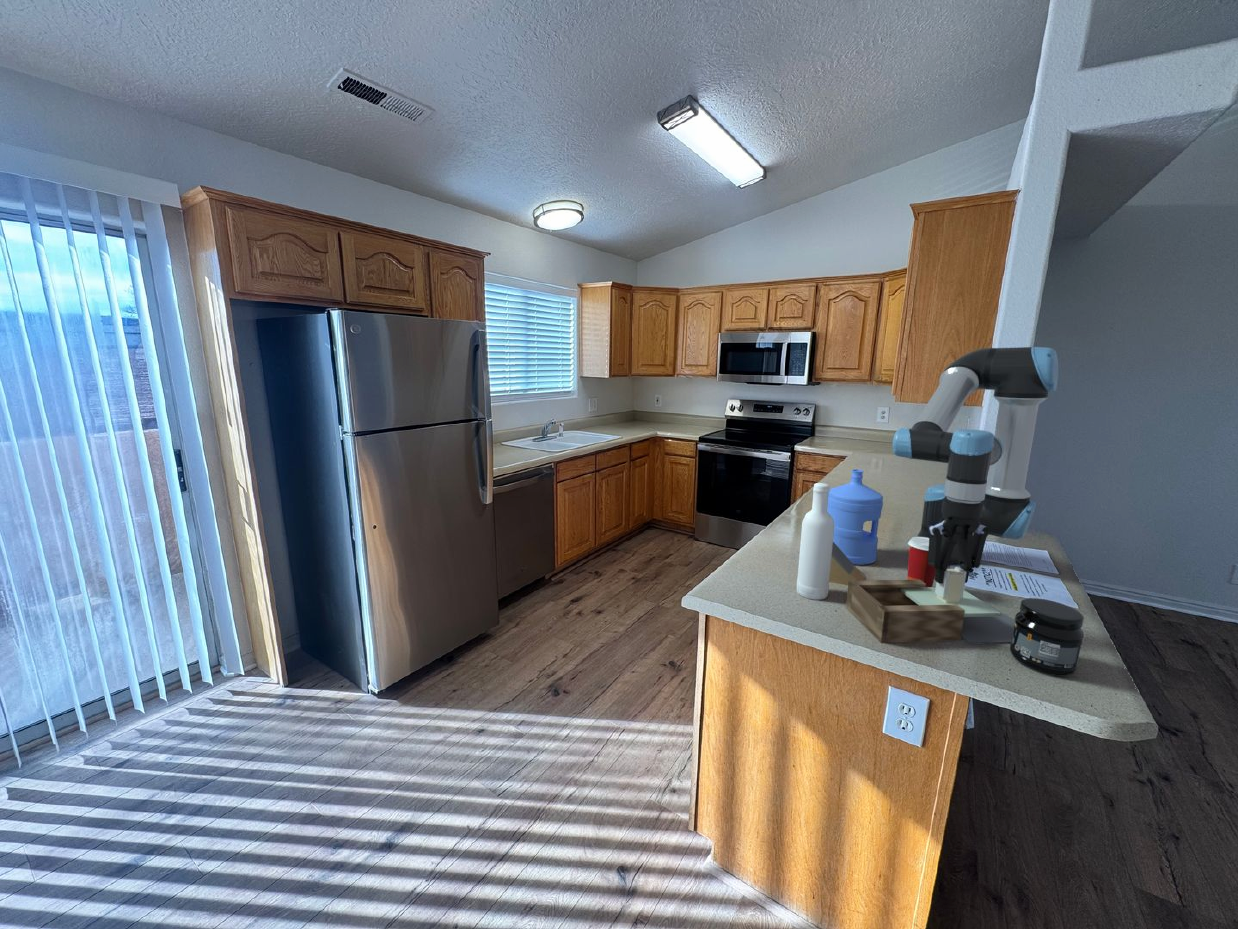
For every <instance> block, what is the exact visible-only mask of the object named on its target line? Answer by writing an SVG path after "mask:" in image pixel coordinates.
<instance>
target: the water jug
mask: <svg viewBox="0 0 1238 929" xmlns="http://www.w3.org/2000/svg"><path fill="white" fill-rule="evenodd" d="M863 473H864V470H863V469H852V470H851V479H850V482H848V483H845V484H843V485H842V484H841V485H839V486H835V487H832V488H829V489H830V491H829V495H828V506H827V512H828V513H829V514H830V515H831V516H832V517H833V521H834V536H833V542H834V543H835V544H836V545H837V546H838V548H839V549H840V550H841V551H842V552H843V553H844V554H845V556H846V557H847V558H848V559H849V560H850V561H851V562H852V563H853V564H854V566H856V565H857V566H859V565H860V566H863V565H869V564H872V563H874V562H876V560H877V558H878V552H877V551H878V543H879V538H878V527H879V520H880V519H881V516H882V510H883V505H884V501H883V500H884V497H883V495H882V494H881V493H880V492H878V491H877V490H875V489H873V488H871V487H869V486H867V485H865V484H863V478H864V477H863ZM866 522H871V527H870V528H871V529H870V531H867V530H864V524H865V523H866Z"/></svg>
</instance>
